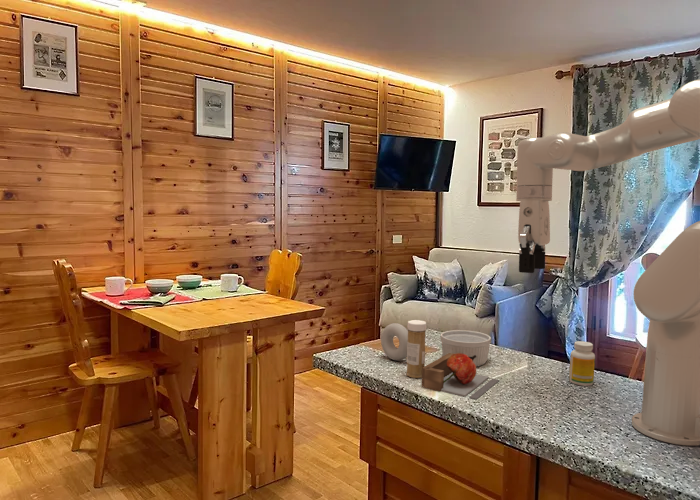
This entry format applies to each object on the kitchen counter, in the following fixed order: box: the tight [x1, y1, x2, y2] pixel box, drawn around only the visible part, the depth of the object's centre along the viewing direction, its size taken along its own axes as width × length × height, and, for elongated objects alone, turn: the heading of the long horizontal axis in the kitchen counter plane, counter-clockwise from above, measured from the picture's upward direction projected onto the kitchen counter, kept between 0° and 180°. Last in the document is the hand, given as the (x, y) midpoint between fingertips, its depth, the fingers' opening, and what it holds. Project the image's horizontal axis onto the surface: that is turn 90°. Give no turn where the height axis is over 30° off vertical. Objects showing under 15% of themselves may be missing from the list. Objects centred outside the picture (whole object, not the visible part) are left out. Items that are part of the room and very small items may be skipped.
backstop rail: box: [421, 353, 454, 392], centre depth 124 cm, size 5×16×4 cm, turn 146°
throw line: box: [469, 378, 500, 400], centre depth 118 cm, size 2×15×1 cm, turn 146°
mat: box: [440, 373, 490, 398], centre depth 122 cm, size 8×15×1 cm, turn 146°
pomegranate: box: [444, 353, 477, 384], centre depth 121 cm, size 7×7×10 cm
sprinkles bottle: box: [405, 319, 427, 379], centre depth 126 cm, size 5×5×13 cm
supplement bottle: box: [568, 340, 596, 387], centre depth 124 cm, size 5×5×10 cm
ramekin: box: [440, 329, 492, 367], centre depth 139 cm, size 13×13×7 cm
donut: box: [380, 322, 408, 362], centre depth 138 cm, size 10×4×10 cm, turn 43°
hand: (532, 270), depth 117 cm, fingers open, 9 cm apart
